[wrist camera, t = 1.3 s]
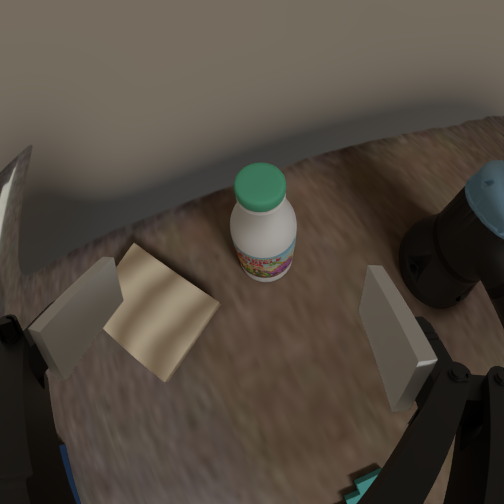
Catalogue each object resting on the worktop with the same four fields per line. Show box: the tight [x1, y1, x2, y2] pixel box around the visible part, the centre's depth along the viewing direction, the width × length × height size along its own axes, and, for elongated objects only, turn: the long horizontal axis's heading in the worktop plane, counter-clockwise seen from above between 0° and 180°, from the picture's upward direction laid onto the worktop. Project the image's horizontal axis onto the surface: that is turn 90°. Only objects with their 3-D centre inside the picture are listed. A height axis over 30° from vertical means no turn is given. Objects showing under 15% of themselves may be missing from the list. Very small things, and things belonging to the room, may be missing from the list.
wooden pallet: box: [103, 243, 221, 382], centre depth 39 cm, size 16×13×4 cm
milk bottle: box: [230, 163, 297, 282], centre depth 34 cm, size 8×8×20 cm
